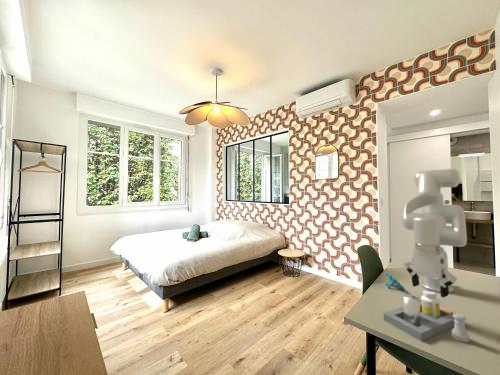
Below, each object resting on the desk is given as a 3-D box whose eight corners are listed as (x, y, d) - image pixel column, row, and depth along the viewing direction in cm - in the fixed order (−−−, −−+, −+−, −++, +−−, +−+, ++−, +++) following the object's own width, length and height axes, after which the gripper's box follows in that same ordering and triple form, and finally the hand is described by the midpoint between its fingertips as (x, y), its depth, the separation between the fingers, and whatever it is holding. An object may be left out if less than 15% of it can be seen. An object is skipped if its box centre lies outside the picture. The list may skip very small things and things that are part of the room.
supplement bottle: (435, 314, 84) (434, 289, 85) (443, 322, 79) (441, 296, 79) (419, 312, 86) (418, 288, 86) (426, 320, 81) (424, 294, 81)
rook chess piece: (447, 334, 72) (446, 311, 73) (459, 333, 73) (458, 310, 73) (461, 343, 68) (460, 318, 68) (474, 342, 68) (472, 317, 69)
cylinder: (409, 319, 81) (408, 293, 82) (424, 327, 77) (422, 299, 77) (401, 322, 80) (399, 296, 80) (415, 330, 75) (414, 302, 75)
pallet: (422, 305, 91) (422, 299, 91) (461, 322, 79) (461, 315, 79) (383, 319, 82) (383, 312, 82) (421, 341, 70) (420, 332, 70)
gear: (409, 290, 101) (391, 274, 104) (400, 298, 102) (382, 282, 104) (399, 284, 112) (383, 269, 115) (391, 291, 112) (375, 276, 115)
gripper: (460, 251, 76) (463, 298, 76) (409, 241, 93) (411, 280, 92) (448, 255, 74) (451, 303, 74) (398, 244, 90) (400, 284, 90)
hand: (429, 290), depth 83 cm, fingers open, 9 cm apart
